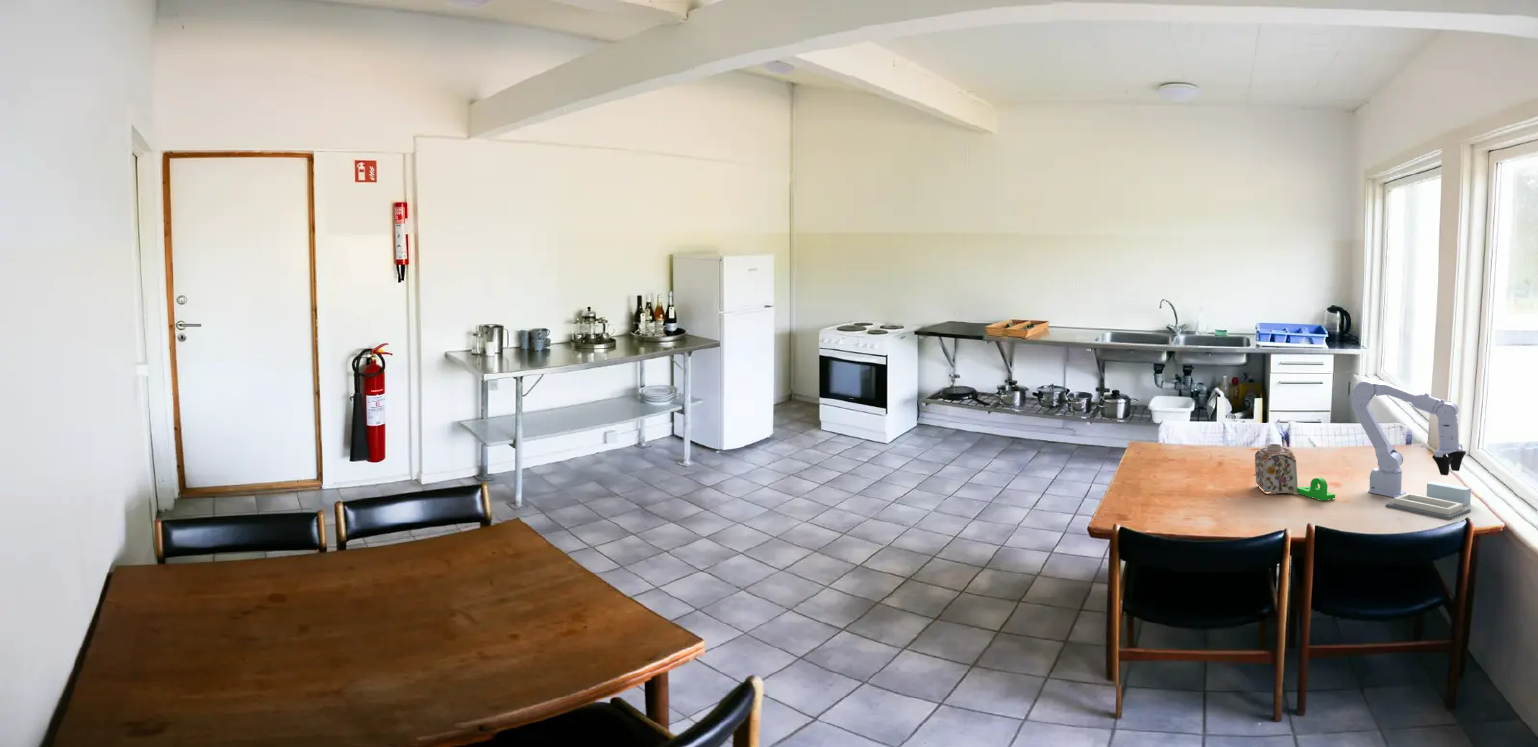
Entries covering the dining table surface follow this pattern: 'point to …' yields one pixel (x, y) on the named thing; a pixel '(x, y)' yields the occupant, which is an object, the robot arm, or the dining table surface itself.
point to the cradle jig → (1428, 506)
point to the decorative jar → (1276, 469)
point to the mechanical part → (1316, 490)
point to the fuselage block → (1449, 492)
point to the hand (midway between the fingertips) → (1450, 472)
